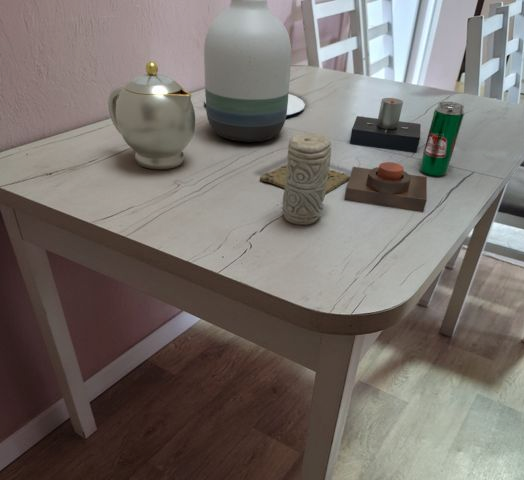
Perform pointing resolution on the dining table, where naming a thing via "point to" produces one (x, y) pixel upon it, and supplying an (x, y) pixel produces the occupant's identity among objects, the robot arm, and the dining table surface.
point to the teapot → (153, 118)
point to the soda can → (442, 138)
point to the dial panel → (385, 135)
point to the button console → (387, 190)
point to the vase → (247, 72)
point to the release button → (390, 171)
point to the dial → (389, 113)
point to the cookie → (280, 174)
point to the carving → (306, 178)
